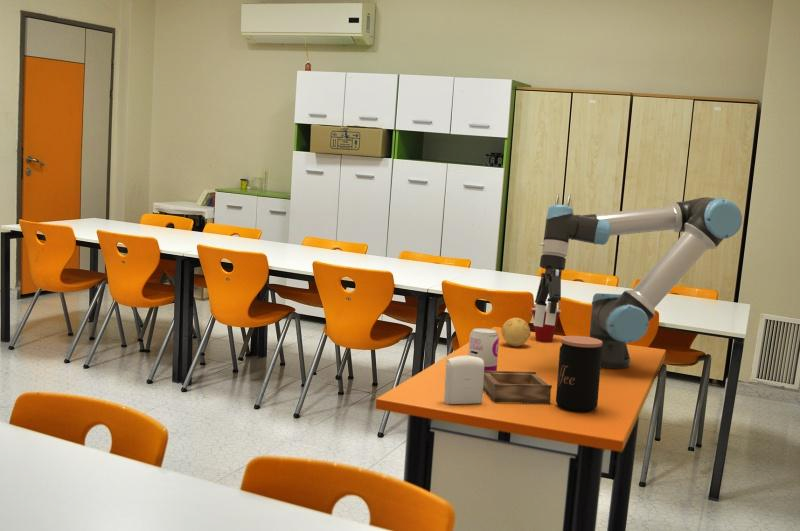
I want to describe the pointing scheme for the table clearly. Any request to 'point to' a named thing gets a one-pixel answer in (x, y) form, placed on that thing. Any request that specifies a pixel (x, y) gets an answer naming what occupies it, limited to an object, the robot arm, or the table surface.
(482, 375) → the white rounded block
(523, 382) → the crate
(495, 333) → the supplement can
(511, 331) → the stress ball
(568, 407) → the coffee jar
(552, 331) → the plastic cup
